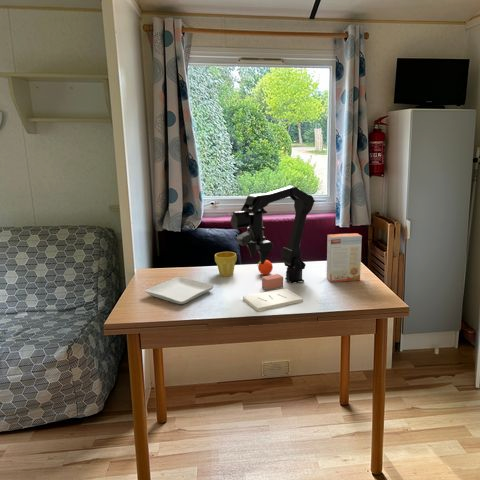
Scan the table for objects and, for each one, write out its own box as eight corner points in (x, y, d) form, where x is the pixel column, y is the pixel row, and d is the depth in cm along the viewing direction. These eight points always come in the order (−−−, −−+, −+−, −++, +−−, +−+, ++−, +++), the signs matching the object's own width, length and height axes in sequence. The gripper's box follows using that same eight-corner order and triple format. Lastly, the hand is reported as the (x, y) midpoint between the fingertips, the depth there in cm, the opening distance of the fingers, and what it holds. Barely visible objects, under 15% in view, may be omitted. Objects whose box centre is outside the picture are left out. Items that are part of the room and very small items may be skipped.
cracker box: (355, 276, 184) (357, 232, 179) (360, 281, 179) (362, 235, 173) (325, 278, 183) (327, 233, 178) (329, 282, 178) (331, 236, 173)
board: (285, 290, 169) (285, 288, 169) (302, 301, 158) (302, 298, 157) (242, 299, 161) (242, 296, 161) (257, 311, 150) (257, 308, 149)
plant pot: (211, 276, 189) (210, 256, 187) (220, 269, 198) (220, 250, 196) (231, 278, 185) (231, 258, 183) (240, 271, 194) (239, 252, 192)
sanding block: (278, 284, 177) (278, 273, 176) (283, 287, 173) (283, 276, 172) (262, 287, 174) (261, 276, 172) (266, 291, 170) (266, 279, 168)
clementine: (259, 277, 186) (259, 263, 184) (253, 273, 192) (253, 259, 190) (275, 275, 188) (275, 260, 187) (268, 271, 195) (268, 257, 193)
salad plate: (216, 291, 170) (215, 284, 170) (182, 309, 154) (181, 301, 153) (179, 282, 182) (178, 275, 181) (144, 298, 165) (143, 290, 164)
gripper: (229, 223, 170) (231, 258, 174) (247, 232, 153) (249, 270, 157) (252, 220, 174) (254, 254, 178) (273, 228, 158) (274, 265, 162)
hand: (257, 261), depth 169 cm, fingers open, 9 cm apart
